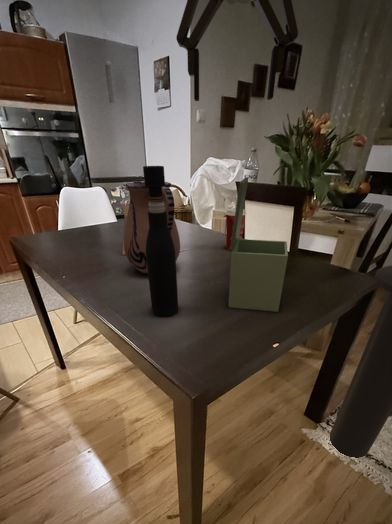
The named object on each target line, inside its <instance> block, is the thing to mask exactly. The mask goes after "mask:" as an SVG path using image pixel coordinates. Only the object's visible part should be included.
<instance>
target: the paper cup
mask: <svg viewBox="0 0 392 524" xmlns="http://www.w3.org/2000/svg"><path fill="white" fill-rule="evenodd" d="M235 212H236V207H233V208H227V209H226V212H225V221H226V223H225V224H226V225H225V227H226V228H225V233H226V235H225V237H226V239H225V240H226V250H227V251H231V252H232V251H233V250H230V246H231V239H232V233H233V226H234V219H235ZM246 215H247V212H246V209H244V210H243V216H242V222H241V229H240V235H239V239H243V235H244V227H245V220H246Z"/></svg>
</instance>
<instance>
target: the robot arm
mask: <svg viewBox="0 0 392 524" xmlns="http://www.w3.org/2000/svg"><path fill="white" fill-rule="evenodd" d="M199 1H200V0H186V3H185V7H184V9H183V13H182V17H181V21H180V23H179V27H178V31H177V33H176V42H177V45H178V46H179V48H183V49H184V50H186V52H187V54H186V55H187V73H188V76H189V77H193V99H194V101H195V102H199V101H200V50H199V48H197V46H198V45H199V43H200V42H201V40H202V38H203V36H204V34H205V33H206V31H207V29H208V27H209V25H210V24H211V22H212V21H213V18H214V17H215V15H216V14H217V11H218V10H219V9H220V8H221V6H222V5H223V3H224V1H225V2H226V3H227V4H228V5H235V4H237V3H239V4H242V5H245V4H246V5H248V3H249V2H250V1H251V0H209V1H208V2H207V4H206V7H205V8H204V10H203V12H202V14H201V16H200V17H199V19H198V21H197V23H196V24H195V26H194V28H193V30H192V31H191V33H190V35H189V32H190V29H191V26H192V23H193V19H194V17H195V13H196V10H197V7H198V5H199ZM252 2H253V3H254V6H255V8H257V10H258V12H259V14H260V16H261V19H262V20H263V22H264V24H265V26H266V28H267V30H268V32H269V34H270V36H271V38H272V40H273V42H274V44H275V45H274V46H273V48H272V49H271V56H270V65H269V74H268V86H267V96H266V101H267V100H273V98H274V93H275V83H276V75H280V74H281V73H282V72H283V71H282V70H283V69H284V68H283V67H284V60H285V52H286V47H287V46H289V45H291V44H294V42H295V41H296V40H297V39H298V36H299V29H298V25H297V24H298V23H297V20H296V19H297V18H296V16H295V15H296V14H295V11H294V5H293V1H292V0H278V4H279V7H280V11H281V17H282V21H283V25H284V29H285V32H284V30H283V28H282V26H281V23H280V21H279V19H278V17H277V15H276V13H275V11H274V9H273V7H272V4H271V2H270V1H269V0H252ZM188 35H189V37H188Z"/></svg>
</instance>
